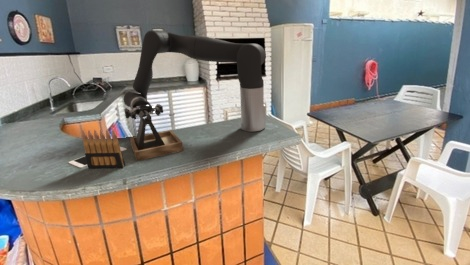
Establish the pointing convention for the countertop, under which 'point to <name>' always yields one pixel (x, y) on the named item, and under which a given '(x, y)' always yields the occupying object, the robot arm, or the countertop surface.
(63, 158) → the countertop surface
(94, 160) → the ammunition clip
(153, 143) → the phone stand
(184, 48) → the robot arm
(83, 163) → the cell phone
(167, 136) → the shallow tray
